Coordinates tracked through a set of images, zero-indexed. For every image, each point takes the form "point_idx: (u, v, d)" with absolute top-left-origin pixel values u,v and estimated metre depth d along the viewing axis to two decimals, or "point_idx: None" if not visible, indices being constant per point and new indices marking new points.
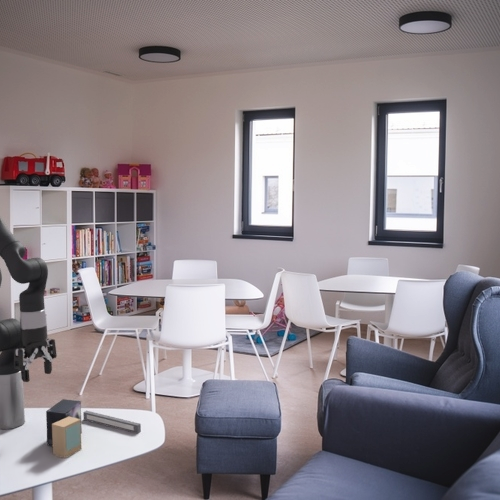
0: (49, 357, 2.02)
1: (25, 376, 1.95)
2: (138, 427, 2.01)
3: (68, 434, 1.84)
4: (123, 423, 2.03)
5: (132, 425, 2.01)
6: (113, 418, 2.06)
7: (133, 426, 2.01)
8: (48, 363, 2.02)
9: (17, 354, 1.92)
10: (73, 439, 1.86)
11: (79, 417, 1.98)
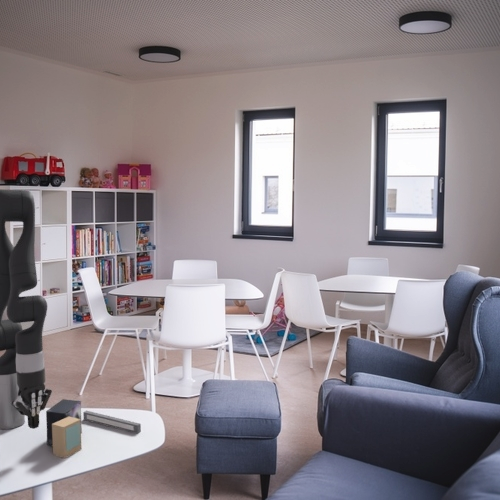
0: (38, 408, 1.84)
1: (32, 422, 1.83)
2: (138, 427, 2.01)
3: (68, 434, 1.84)
4: (123, 423, 2.03)
5: (132, 425, 2.01)
6: (113, 418, 2.06)
7: (133, 426, 2.01)
8: (35, 416, 1.84)
9: (17, 407, 1.79)
10: (73, 439, 1.86)
11: (79, 417, 1.98)
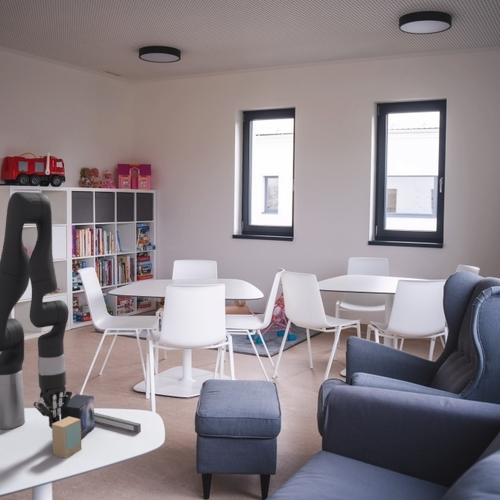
0: (59, 409, 1.91)
1: None
2: (138, 427, 2.01)
3: (68, 434, 1.84)
4: (123, 423, 2.03)
5: (132, 425, 2.01)
6: (113, 418, 2.06)
7: (133, 426, 2.01)
8: (56, 417, 1.91)
9: (39, 408, 1.86)
10: (73, 439, 1.86)
11: (92, 412, 2.02)
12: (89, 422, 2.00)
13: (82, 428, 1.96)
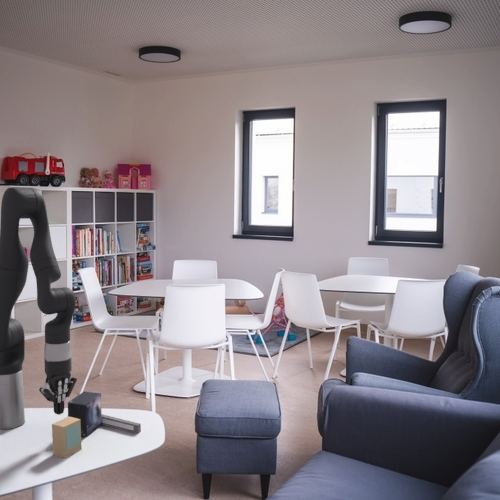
0: (64, 395, 1.93)
1: (57, 409, 1.92)
2: (138, 427, 2.01)
3: (68, 434, 1.84)
4: (123, 423, 2.03)
5: (132, 425, 2.01)
6: (113, 418, 2.06)
7: (133, 426, 2.01)
8: (61, 402, 1.93)
9: (44, 393, 1.88)
10: (73, 439, 1.86)
11: (99, 409, 2.05)
12: (95, 419, 2.02)
13: (89, 425, 1.98)
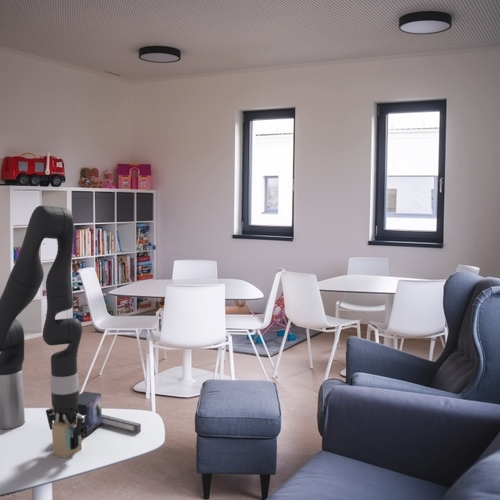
0: (71, 432, 1.84)
1: None
2: (138, 427, 2.01)
3: (68, 434, 1.84)
4: (123, 423, 2.03)
5: (132, 425, 2.01)
6: (113, 418, 2.06)
7: (133, 426, 2.01)
8: None
9: None
10: None
11: (99, 409, 2.05)
12: (95, 419, 2.02)
13: (89, 425, 1.98)
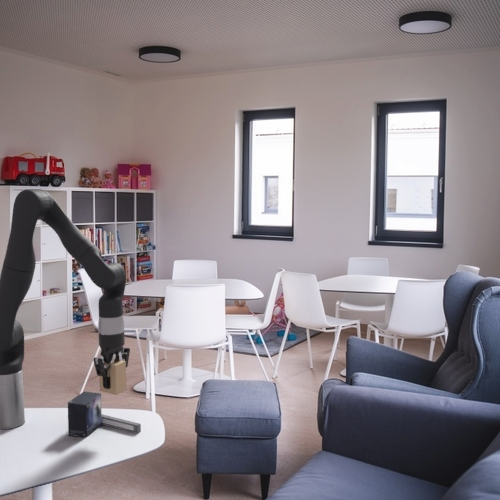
0: None
1: (107, 383, 1.95)
2: (138, 427, 2.01)
3: None
4: (123, 423, 2.03)
5: (132, 425, 2.01)
6: (113, 418, 2.06)
7: (133, 426, 2.01)
8: None
9: (97, 363, 1.92)
10: None
11: (99, 409, 2.05)
12: (95, 419, 2.02)
13: (89, 425, 1.98)
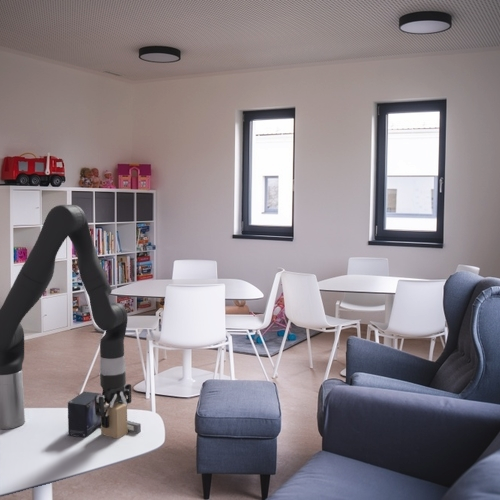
0: (125, 402, 2.02)
1: (105, 422, 1.95)
2: (138, 427, 2.01)
3: None
4: None
5: (132, 425, 2.01)
6: None
7: (133, 426, 2.01)
8: None
9: (98, 401, 1.93)
10: None
11: (99, 409, 2.05)
12: (95, 419, 2.02)
13: (89, 425, 1.98)
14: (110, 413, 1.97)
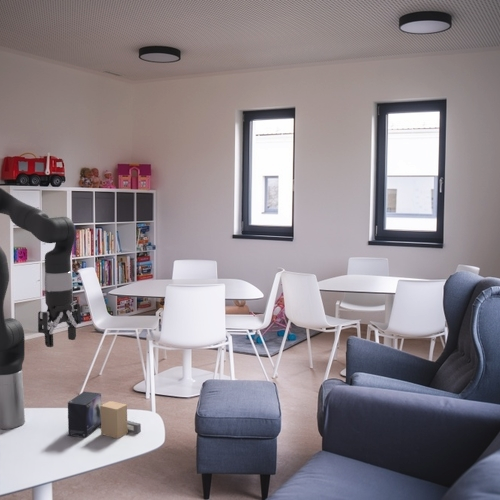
0: (74, 322, 1.92)
1: (49, 341, 1.85)
2: (138, 427, 2.01)
3: None
4: None
5: (132, 425, 2.01)
6: None
7: (133, 426, 2.01)
8: (72, 328, 1.92)
9: (41, 317, 1.82)
10: None
11: (99, 409, 2.05)
12: (95, 419, 2.02)
13: (89, 425, 1.98)
14: (110, 413, 1.97)
